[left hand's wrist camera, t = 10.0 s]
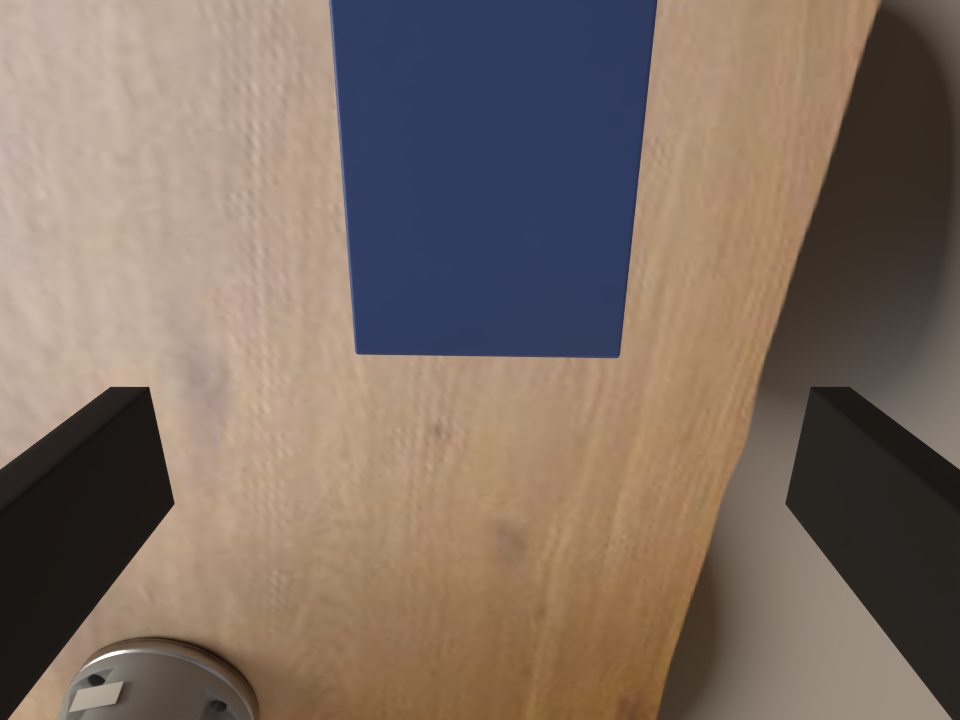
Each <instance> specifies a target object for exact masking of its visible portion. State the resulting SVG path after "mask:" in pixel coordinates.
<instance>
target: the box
mask: <svg viewBox="0 0 960 720" xmlns="http://www.w3.org/2000/svg"><path fill="white" fill-rule="evenodd" d="M329 5H330V18H331V31H332V45H333V58H334V72H335V85H336V99H337V112H338V125H339V139H340V152H341V166H342V179H343V193H344V206H345V219H346V233H347V246H348V260H349V273H350V287H351V300H352V313H353V327H354V340H355V351H356V354H367V355H436V356H506V357H576V358H618V357H619V355H620V348H621V338H622V329H623V320H624V310H625V301H626V291H627V282H628V272H629V263H630V253H631V244H632V235H633V225H634V216H635V206H636V197H637V187H638V178H639V169H640V159H641V150H642V140H643V131H644V121H645V112H646V102H647V93H648V84H649V74H650V65H651V55H652V46H653V36H654V27H655V17H656V8H657V0H329Z"/></svg>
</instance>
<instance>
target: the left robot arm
mask: <svg viewBox="0 0 960 720" xmlns="http://www.w3.org/2000/svg"><path fill="white" fill-rule="evenodd" d="M174 504H175V503H174V499H173V494H172V490H171V485H170V480H169V476H168V471H167V467H166V462H165V458H164V453H163V448H162V444H161V439H160V435H159V430H158V426H157V421H156V416H155V412H154V407H153V403H152V398H151V393H150V389H149V387H110V388H108V389H107V390H106V391H104V392H103V393H102V394H100V395H99V396H98V397H97V398H95V399H94V400H93V401H91V402H90V403H89V404H87V405H86V406H85V407H83V408H82V409H81V410H79V411H78V412H77V413H75V414H74V415H73V416H71V417H70V418H69V419H67V420H66V421H65V422H63V423H62V424H61V425H59V426H58V427H57V428H55V429H54V430H53V431H51V432H50V433H49V434H47V435H46V436H45V437H43V438H42V439H41V440H39V441H38V442H37V443H35V444H34V445H33V446H31V447H30V448H29V449H27V450H26V451H25V452H23V453H22V454H21V455H19V456H18V457H17V458H15V459H14V460H13V461H11V462H10V463H9V464H7V465H6V466H5V467H3V468H2V469H1V470H0V720H8V718H9V717H10V716H11V715H12V713H13V712H14V711H15V709H16V708H17V707H18V706H19V704H20V703H21V702H22V700H23V699H24V698H25V697H26V695H27V694H28V693H29V691H30V690H31V689H32V687H33V686H34V685H35V684H36V682H37V681H38V680H39V678H40V677H41V676H42V675H43V673H44V672H45V671H46V669H47V668H48V667H49V666H50V664H51V663H52V662H53V660H54V659H55V658H56V656H57V655H58V654H59V653H60V651H61V650H62V649H63V647H64V646H65V645H66V644H67V642H68V641H69V640H70V638H71V637H72V636H73V635H74V633H75V632H76V631H77V629H78V628H79V627H80V625H81V624H82V623H83V622H84V620H85V619H86V618H87V616H88V615H89V614H90V613H91V611H92V610H93V609H94V607H95V606H96V605H97V604H98V602H99V601H100V600H101V598H102V597H103V596H104V594H105V593H106V592H107V591H108V589H109V588H110V587H111V585H112V584H113V583H114V582H115V580H116V579H117V578H118V576H119V575H120V574H121V573H122V571H123V570H124V569H125V567H126V566H127V565H128V563H129V562H130V561H131V560H132V558H133V557H134V556H135V554H136V553H137V552H138V551H139V549H140V548H141V547H142V545H143V544H144V543H145V542H146V540H147V539H148V538H149V536H150V535H151V534H152V532H153V531H154V530H155V529H156V527H157V526H158V525H159V523H160V522H161V521H162V520H163V518H164V517H165V516H166V514H167V513H168V512H169V511H170V509H171V508H172V507H173V505H174ZM786 505H787V507H788V508H789V509H790V511H791V512H792V513H793V514H794V516H795V517H796V518H797V520H798V521H799V522H800V523H801V525H802V526H803V527H804V529H805V530H806V531H807V532H808V534H809V535H810V536H811V538H812V539H813V540H814V541H815V543H816V544H817V545H818V547H819V548H820V549H821V551H822V552H823V553H824V554H825V556H826V557H827V558H828V560H829V561H830V562H831V563H832V565H833V566H834V567H835V569H836V570H837V571H838V572H839V574H840V575H841V576H842V578H843V579H844V580H845V582H846V583H847V584H848V585H849V587H850V588H851V589H852V591H853V592H854V593H855V594H856V596H857V597H858V598H859V600H860V601H861V602H862V603H863V605H864V606H865V607H866V609H867V610H868V611H869V613H870V614H871V615H872V616H873V618H874V619H875V620H876V622H877V623H878V624H879V625H880V627H881V628H882V629H883V631H884V632H885V633H886V634H887V636H888V637H889V638H890V640H891V641H892V642H893V644H894V645H895V646H896V647H897V649H898V650H899V651H900V653H901V654H902V655H903V656H904V658H905V659H906V660H907V662H908V663H909V664H910V666H911V667H912V668H913V669H914V671H915V672H916V673H917V674H918V676H919V677H920V678H921V680H922V681H923V682H924V684H925V685H926V686H927V687H928V689H929V690H930V691H931V693H932V694H933V695H934V697H935V698H936V699H937V700H938V702H939V703H940V704H941V706H942V707H943V708H944V709H945V711H946V712H947V713H948V715H949V716H950V717H951V718H952V720H960V470H959V469H958V468H957V467H955V466H954V465H953V464H951V463H950V462H949V461H947V460H946V459H945V458H943V457H942V456H941V455H939V454H938V453H937V452H935V451H934V450H933V449H931V448H930V447H929V446H927V445H926V444H925V443H923V442H922V441H921V440H919V439H918V438H917V437H915V436H914V435H913V434H911V433H910V432H909V431H907V430H906V429H905V428H903V427H902V426H901V425H899V424H898V423H897V422H895V421H894V420H893V419H891V418H890V417H889V416H887V415H886V414H885V413H883V412H882V411H881V410H879V409H878V408H877V407H875V406H874V405H873V404H871V403H870V402H869V401H867V400H866V399H865V398H863V397H862V396H861V395H859V394H858V393H857V392H855V391H854V390H853V389H851V388H850V387H811V389H810V394H809V398H808V403H807V407H806V412H805V416H804V421H803V426H802V430H801V435H800V439H799V444H798V449H797V453H796V458H795V462H794V467H793V471H792V476H791V480H790V485H789V490H788V494H787V499H786ZM57 720H259V709H258V704H257V701H256V698H255V696H254V693H253V692H252V690H251V688H250V686H249V685H248V684H247V682H246V681H245V680H244V679H243V677H242V676H241V675H240V674H239V673H238V672H237V671H236V670H235V669H233V668H232V667H231V666H230V665H228V664H227V663H226V662H224V661H223V660H221V659H220V658H218V657H216V656H215V655H213V654H211V653H209V652H207V651H205V650H203V649H200V648H198V647H195V646H192V645H189V644H186V643H182V642H178V641H173V640H168V639H159V638H137V639H129V640H124V641H120V642H116V643H113V644H111V645H108V646H106V647H104V648H102V649H100V650H99V651H97V652H96V653H94V654H93V655H92V656H91V657H90V658H89V659H88V660H87V661H86V662H85V663H84V665H83V666H82V667H81V669H80V670H79V672H78V673H77V674H76V676H75V677H74V679H73V680H72V682H71V684H70V686H69V688H68V690H67V692H66V694H65V696H64V699H63V702H62V705H61V708H60V711H59V714H58V717H57Z"/></svg>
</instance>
